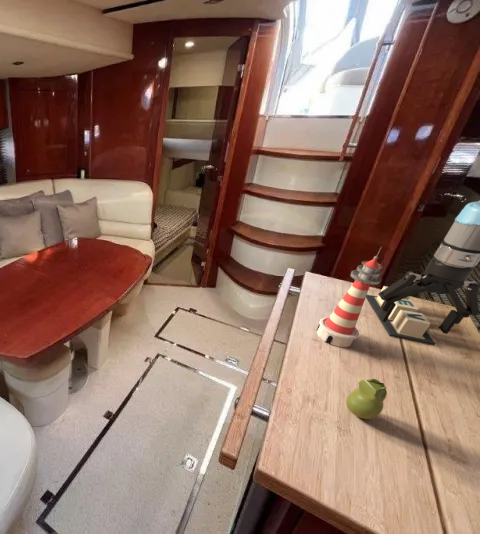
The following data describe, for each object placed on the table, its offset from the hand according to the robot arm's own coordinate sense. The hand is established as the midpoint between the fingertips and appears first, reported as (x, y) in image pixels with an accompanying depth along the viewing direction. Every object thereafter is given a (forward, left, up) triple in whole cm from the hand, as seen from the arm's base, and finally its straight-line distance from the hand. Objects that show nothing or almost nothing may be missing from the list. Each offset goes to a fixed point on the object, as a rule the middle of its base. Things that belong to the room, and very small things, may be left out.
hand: (411, 324), depth 90 cm
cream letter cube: (0, 0, -2) cm, 2 cm away
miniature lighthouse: (+20, +11, -3) cm, 23 cm away
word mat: (0, -7, -3) cm, 8 cm away
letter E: (0, -7, -2) cm, 7 cm away
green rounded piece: (+21, +38, -3) cm, 44 cm away
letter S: (0, -14, -2) cm, 14 cm away
